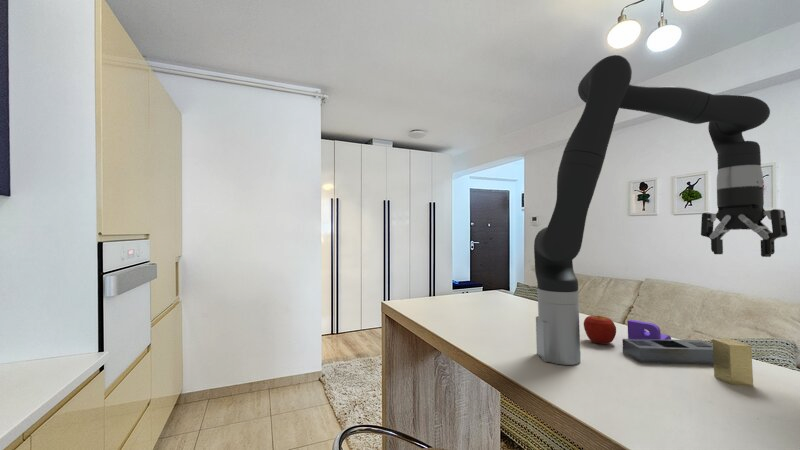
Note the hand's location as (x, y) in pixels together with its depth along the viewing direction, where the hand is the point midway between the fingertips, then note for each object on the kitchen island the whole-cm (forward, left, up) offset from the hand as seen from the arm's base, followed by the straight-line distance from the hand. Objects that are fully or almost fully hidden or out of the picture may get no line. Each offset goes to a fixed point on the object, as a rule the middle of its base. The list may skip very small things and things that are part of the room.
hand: (741, 255), depth 75 cm
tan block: (-10, -8, -26) cm, 29 cm away
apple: (-25, +15, -26) cm, 39 cm away
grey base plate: (-14, +4, -26) cm, 29 cm away
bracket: (-11, +15, -26) cm, 32 cm away
